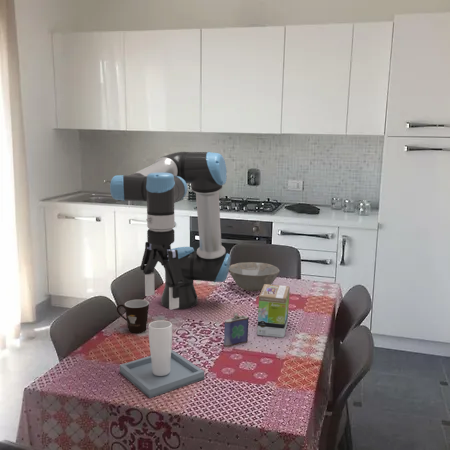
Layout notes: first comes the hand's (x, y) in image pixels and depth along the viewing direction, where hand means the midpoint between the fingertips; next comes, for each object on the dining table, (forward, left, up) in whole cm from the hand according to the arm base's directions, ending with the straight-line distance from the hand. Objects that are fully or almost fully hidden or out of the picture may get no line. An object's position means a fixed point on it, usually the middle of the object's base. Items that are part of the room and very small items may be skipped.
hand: (161, 301), depth 144 cm
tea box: (-7, +51, -23) cm, 56 cm away
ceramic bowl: (-46, +75, -23) cm, 91 cm away
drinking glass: (0, 0, -22) cm, 22 cm away
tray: (0, 0, -23) cm, 23 cm away
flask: (-5, +32, -23) cm, 39 cm away
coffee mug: (-36, +10, -23) cm, 44 cm away
